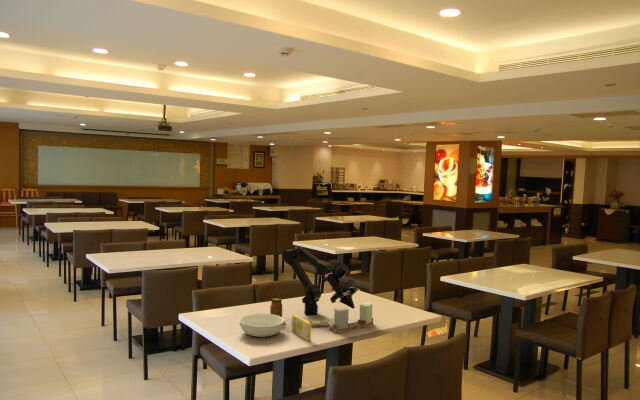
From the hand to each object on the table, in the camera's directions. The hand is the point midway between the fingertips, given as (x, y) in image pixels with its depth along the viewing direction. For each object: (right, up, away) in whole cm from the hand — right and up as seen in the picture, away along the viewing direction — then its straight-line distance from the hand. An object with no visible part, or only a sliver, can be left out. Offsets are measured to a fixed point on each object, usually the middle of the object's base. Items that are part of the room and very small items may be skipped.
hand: (353, 308), depth 249 cm
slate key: (-7, -7, -13) cm, 16 cm away
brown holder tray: (-1, -8, -7) cm, 11 cm away
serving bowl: (-45, -8, -19) cm, 49 cm away
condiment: (-39, -7, -1) cm, 40 cm away
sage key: (+6, -6, -4) cm, 9 cm away
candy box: (-26, -9, -21) cm, 35 cm away
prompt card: (-18, -8, -4) cm, 20 cm away
